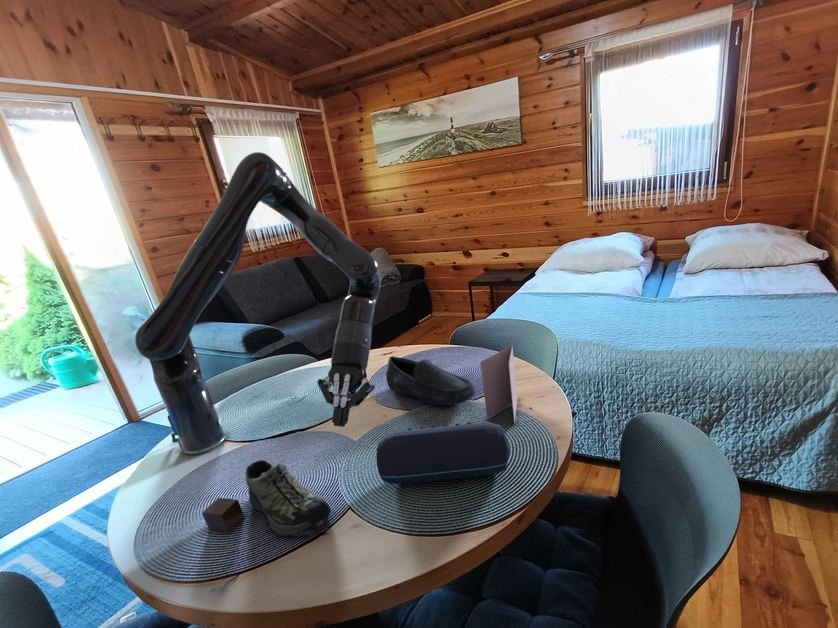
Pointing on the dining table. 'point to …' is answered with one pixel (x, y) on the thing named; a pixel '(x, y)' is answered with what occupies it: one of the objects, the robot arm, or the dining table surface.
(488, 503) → the dining table surface
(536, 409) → the dining table surface
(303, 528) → the hiking shoe
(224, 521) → the block
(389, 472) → the portable speaker
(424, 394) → the loafer
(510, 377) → the greeting card
